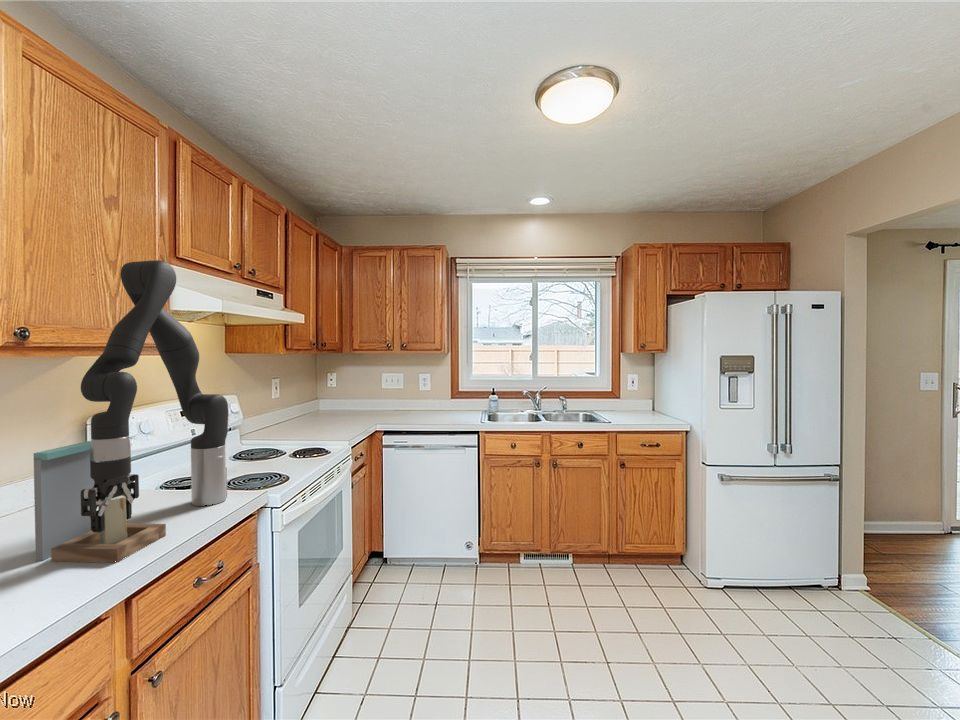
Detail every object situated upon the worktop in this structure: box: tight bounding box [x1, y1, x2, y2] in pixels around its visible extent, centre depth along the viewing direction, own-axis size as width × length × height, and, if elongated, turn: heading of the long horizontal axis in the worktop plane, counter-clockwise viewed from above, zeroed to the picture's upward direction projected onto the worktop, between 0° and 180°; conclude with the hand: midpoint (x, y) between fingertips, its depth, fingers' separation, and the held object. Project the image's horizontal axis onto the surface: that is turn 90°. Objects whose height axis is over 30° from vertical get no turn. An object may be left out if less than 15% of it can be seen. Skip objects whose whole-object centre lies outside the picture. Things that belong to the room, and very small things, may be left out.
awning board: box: [33, 440, 95, 562], centre depth 110 cm, size 14×3×24 cm, turn 178°
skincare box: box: [97, 495, 128, 544], centre depth 110 cm, size 6×4×12 cm
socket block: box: [50, 523, 167, 563], centre depth 110 cm, size 15×15×3 cm
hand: (112, 525), depth 110 cm, fingers open, 7 cm apart
